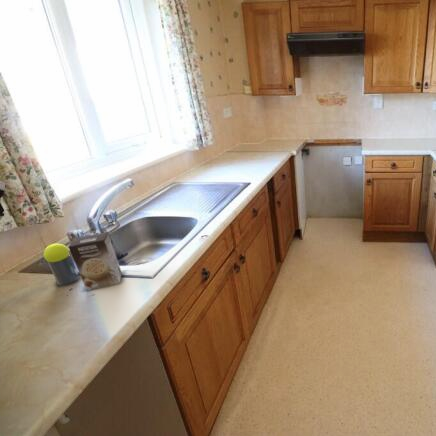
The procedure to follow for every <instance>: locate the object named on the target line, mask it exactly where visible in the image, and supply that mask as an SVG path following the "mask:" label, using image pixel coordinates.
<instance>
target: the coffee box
mask: <svg viewBox="0 0 436 436" xmlns="http://www.w3.org/2000/svg"><path fill="white" fill-rule="evenodd" d="M68 250H69V253H70V255H71V257H72V260H73V262H74V264H75V267H76V269H77V272H78V274H79V276H80V278H81V280H82V283H83V285H84V287H85V289H86V291H90V290H95V289H99V288H104V287H108V286H113V285H116V284H117V285H118V284H120V282H121V279H122V275H123V272H122V269H121V266H120V263H119V261H118V258H117V255H116V252H115V249H114V246H113V244H112V240H111V238H110V235H109V232H108V231H106V232H99V233H93V234H88V235H81V236H74V237H73V238H72V239H71V241H70V243H69V245H68Z"/></svg>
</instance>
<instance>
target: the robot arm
mask: <svg viewBox="0 0 436 436" xmlns="http://www.w3.org/2000/svg"><path fill="white" fill-rule="evenodd" d="M5 190H6V182H5V181H0V217H5V208H4V207H3V204H2V203H1V201H2V197H3V196H4V194H5Z"/></svg>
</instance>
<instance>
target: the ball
mask: <svg viewBox="0 0 436 436" xmlns="http://www.w3.org/2000/svg"><path fill="white" fill-rule="evenodd" d="M69 254H70V249H69V247H67V246H66V245H65V244H62V243H57V242H56V243H52V244H49V245H48V246H47V247H45V248H44V250H43V258H44V259H45V260H46V261H49V262H51V263H54V262H59V261H62V260H64V259H66V258H67V257H68V255H69Z"/></svg>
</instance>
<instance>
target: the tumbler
mask: <svg viewBox="0 0 436 436" xmlns="http://www.w3.org/2000/svg"><path fill="white" fill-rule="evenodd" d="M46 261H47V260H46ZM47 264H48V266H49V269H50V271H51V272H52V273H51V274H52V275H53V277H54V280H55V281H56V283H57V285H58V286H61V287H63V286H68V285H71V284H73V283H75V282H78V280H80V278H81V276H80V273H79V271H78V269H77V266H76V264H75V262H74V260H73V257H72V255H71V253H69V255H68V257H67V258H66V259H64V260H62V261H59V262H54V263H51V262H49V261H47Z"/></svg>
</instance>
